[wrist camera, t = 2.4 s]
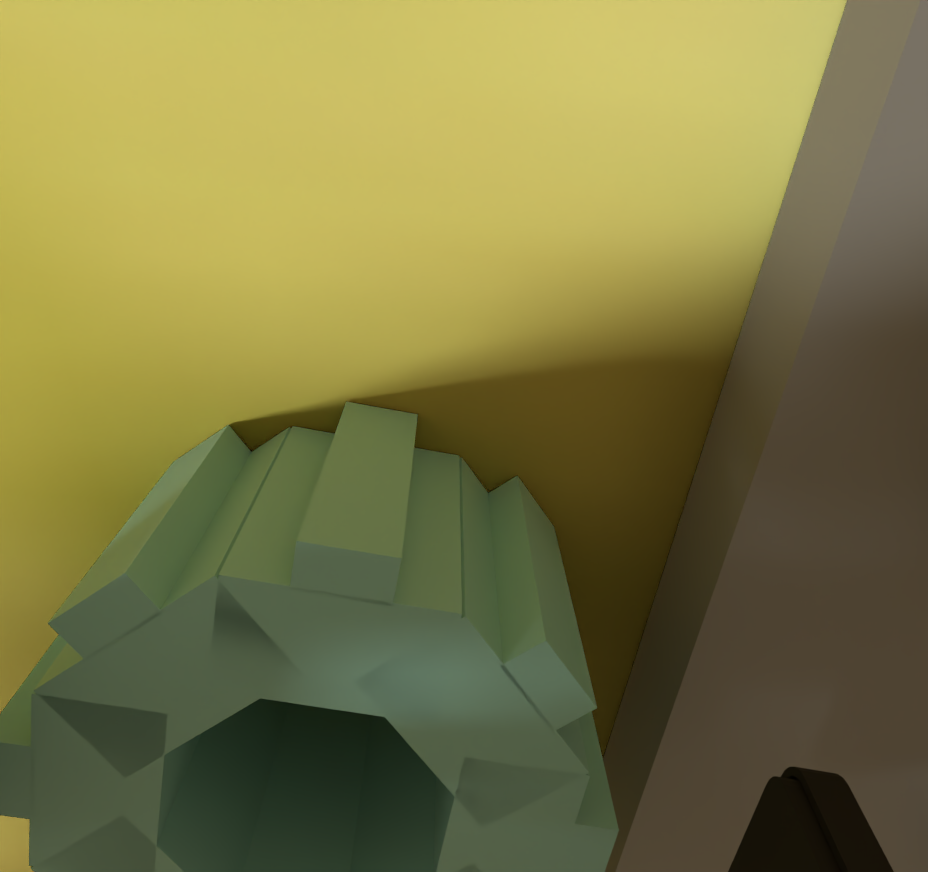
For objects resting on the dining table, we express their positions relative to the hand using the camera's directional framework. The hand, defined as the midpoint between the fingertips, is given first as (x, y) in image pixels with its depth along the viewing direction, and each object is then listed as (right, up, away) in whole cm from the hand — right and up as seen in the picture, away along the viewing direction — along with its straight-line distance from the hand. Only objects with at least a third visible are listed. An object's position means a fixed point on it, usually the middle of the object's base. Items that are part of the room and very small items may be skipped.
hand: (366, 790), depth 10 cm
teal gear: (-1, +1, +4) cm, 5 cm away
